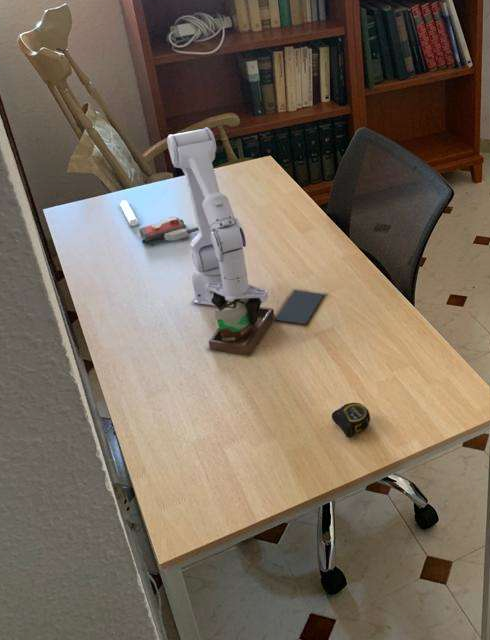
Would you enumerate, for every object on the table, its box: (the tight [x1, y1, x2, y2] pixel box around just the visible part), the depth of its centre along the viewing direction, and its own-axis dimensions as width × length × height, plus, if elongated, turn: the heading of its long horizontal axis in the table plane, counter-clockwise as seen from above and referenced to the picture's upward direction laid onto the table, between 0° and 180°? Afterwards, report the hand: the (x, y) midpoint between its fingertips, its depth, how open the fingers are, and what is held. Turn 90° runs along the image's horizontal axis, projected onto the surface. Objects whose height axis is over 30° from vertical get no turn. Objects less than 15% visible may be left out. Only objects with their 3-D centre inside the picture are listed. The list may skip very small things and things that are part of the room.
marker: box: [119, 200, 139, 227], centre depth 238 cm, size 3×2×16 cm
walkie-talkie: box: [138, 216, 199, 245], centre depth 227 cm, size 9×4×20 cm
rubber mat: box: [274, 289, 325, 326], centre depth 198 cm, size 8×13×1 cm, turn 167°
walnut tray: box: [208, 306, 276, 356], centre depth 188 cm, size 9×15×2 cm, turn 167°
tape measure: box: [331, 402, 371, 439], centre depth 162 cm, size 7×7×4 cm
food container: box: [214, 298, 253, 343], centre depth 186 cm, size 12×6×10 cm, turn 168°
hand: (241, 321), depth 187 cm, fingers closed on food container, 6 cm apart
